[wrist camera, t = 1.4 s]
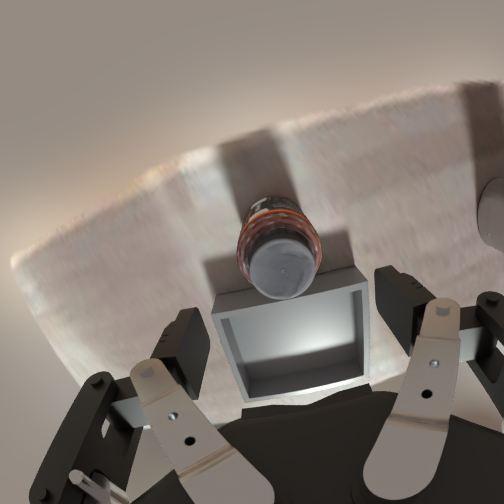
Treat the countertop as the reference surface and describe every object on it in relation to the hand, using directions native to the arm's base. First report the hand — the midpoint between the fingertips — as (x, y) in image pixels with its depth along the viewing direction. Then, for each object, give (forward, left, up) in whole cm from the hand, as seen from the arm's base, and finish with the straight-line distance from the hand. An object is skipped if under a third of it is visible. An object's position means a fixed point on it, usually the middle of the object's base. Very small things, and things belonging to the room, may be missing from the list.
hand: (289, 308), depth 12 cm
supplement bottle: (0, 0, -16) cm, 16 cm away
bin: (0, +13, -16) cm, 20 cm away
